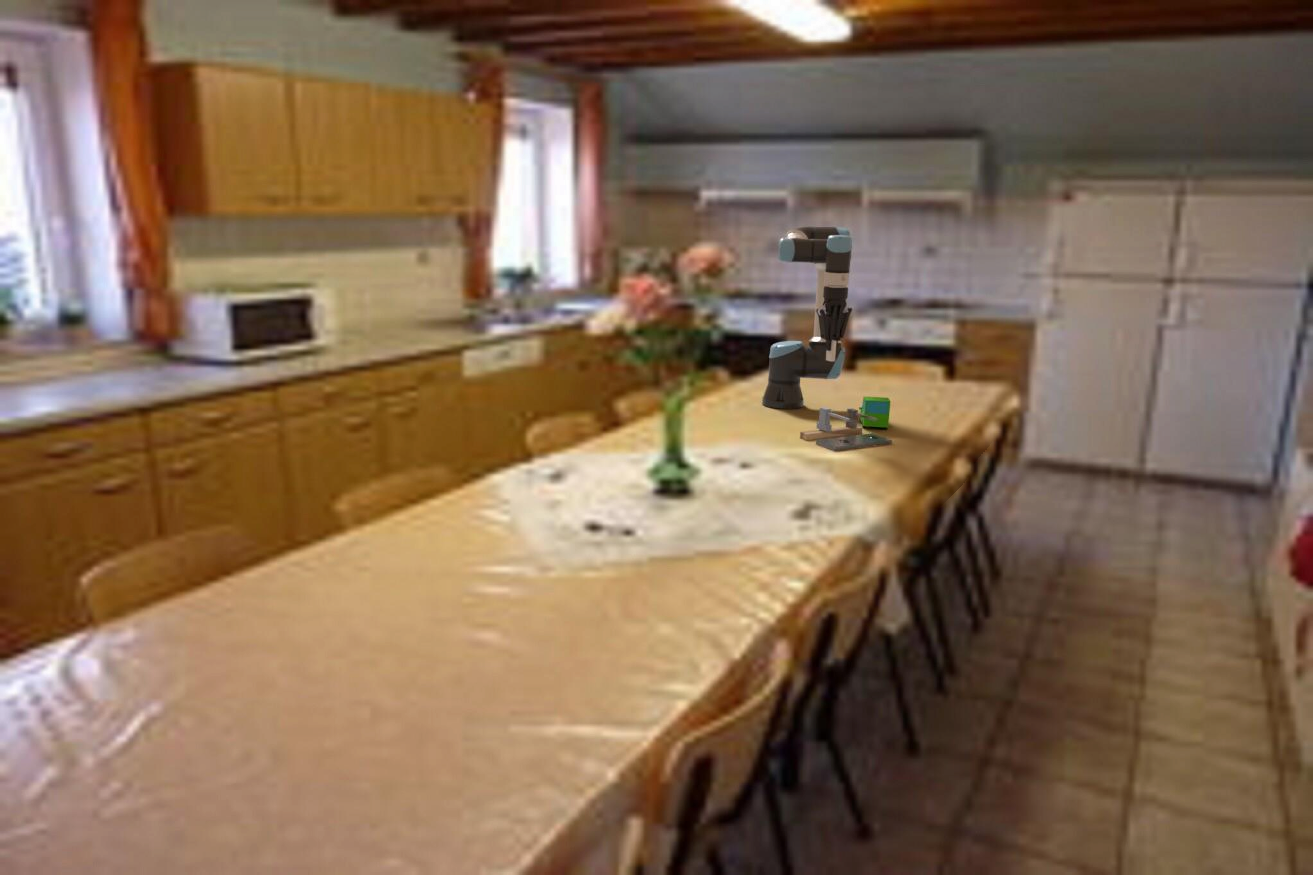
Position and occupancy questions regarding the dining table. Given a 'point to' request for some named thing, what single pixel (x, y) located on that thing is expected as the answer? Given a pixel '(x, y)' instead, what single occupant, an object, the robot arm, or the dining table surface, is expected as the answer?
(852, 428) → the rail
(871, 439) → the hole plate
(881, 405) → the green box
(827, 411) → the grey hammer
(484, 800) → the dining table surface
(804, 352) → the robot arm
